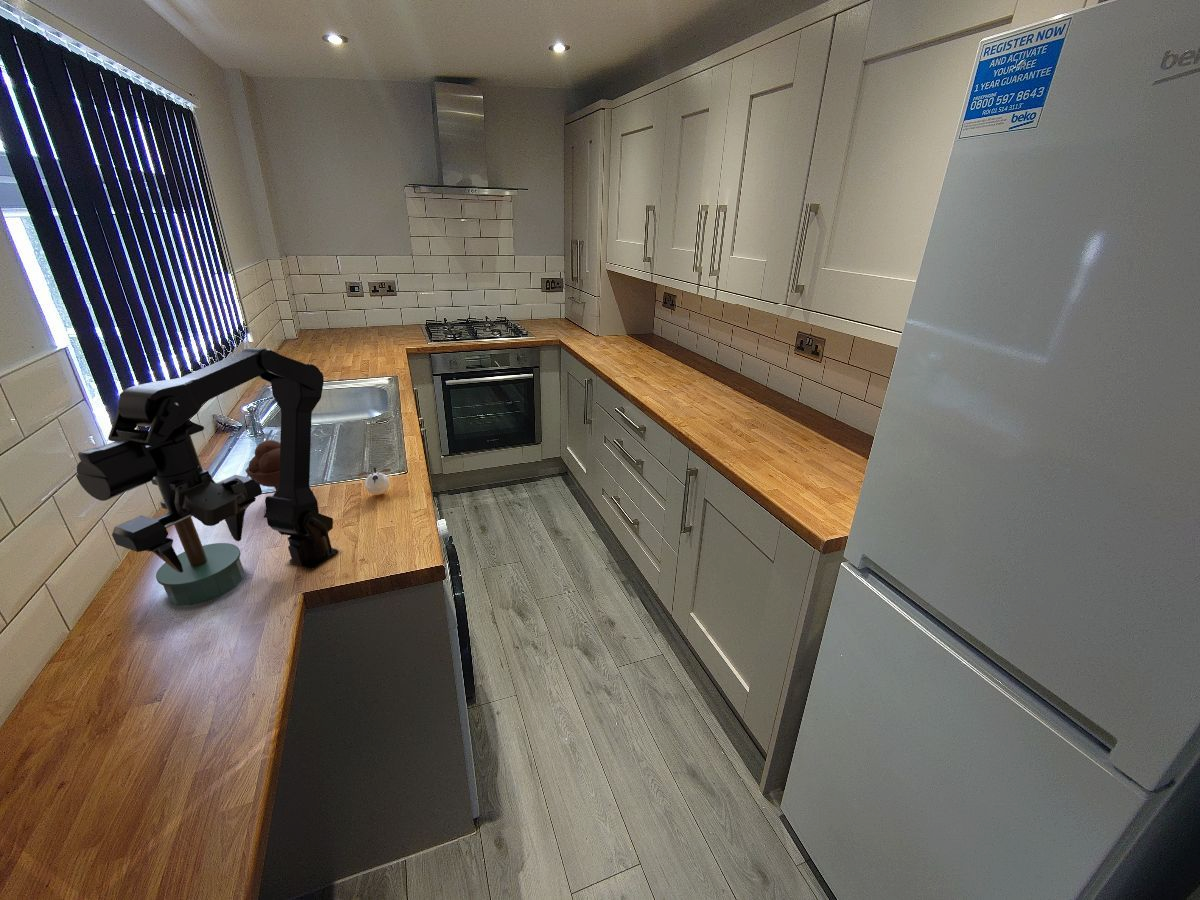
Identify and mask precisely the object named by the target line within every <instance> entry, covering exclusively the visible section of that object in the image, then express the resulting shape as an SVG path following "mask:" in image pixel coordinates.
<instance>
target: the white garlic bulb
mask: <svg viewBox="0 0 1200 900" xmlns="http://www.w3.org/2000/svg"><path fill="white" fill-rule="evenodd" d="M372 469H373V473H372V472H367V471H363V472H360V473H358V474H357V477H361V476H365V475H368V476H367V477H366V478H365V482H364V483H365V484H364V487H365V489H366V491H367V492H368V493H369V494H371V495H374V496H379V495H383V494H385V493H386V492H387V491H388V489H389V488H390V479H389V477H388V476H387V475H386V474H385V473H388V472H392V471H391V469H390V468H384V469H382V470H380V471H377V467H372Z"/></svg>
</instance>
